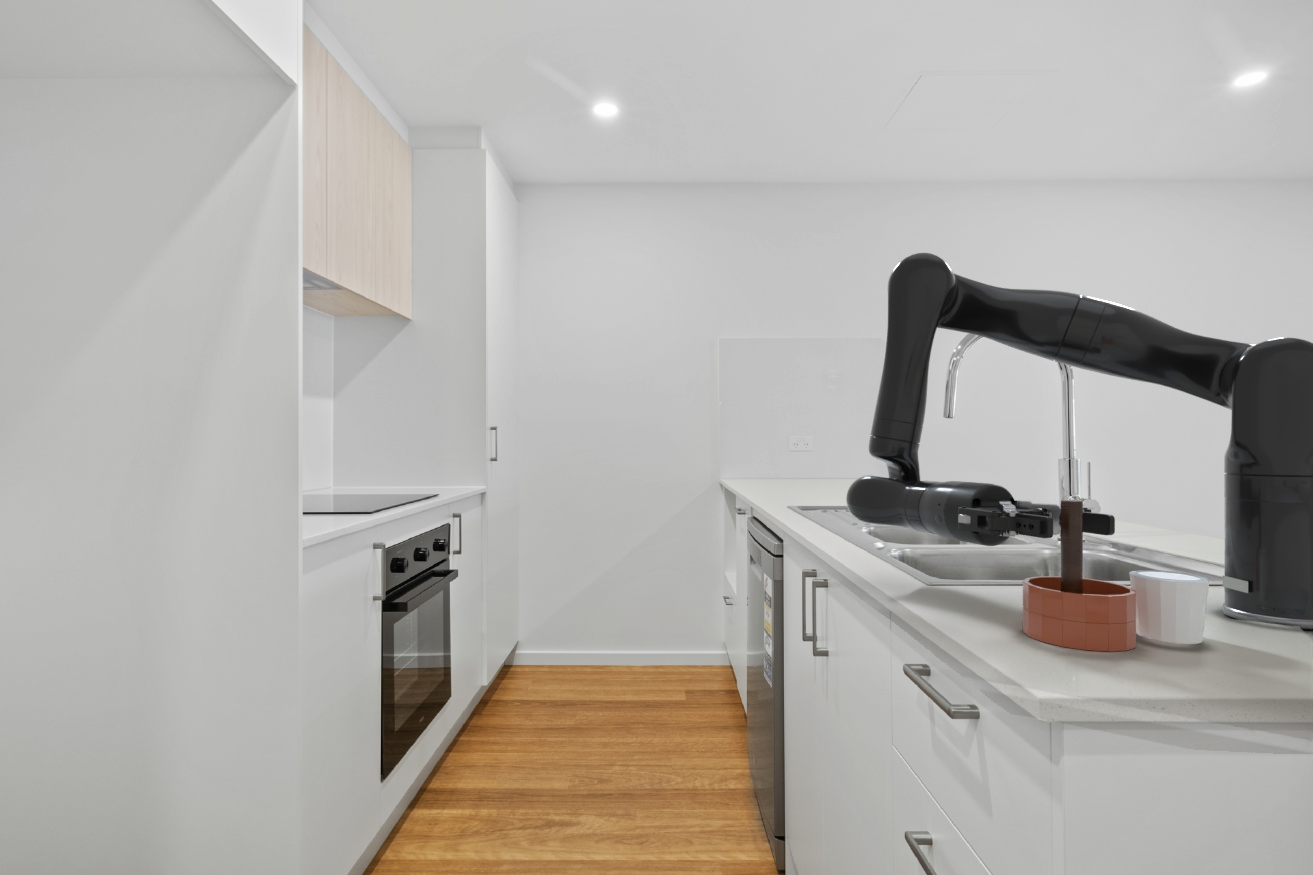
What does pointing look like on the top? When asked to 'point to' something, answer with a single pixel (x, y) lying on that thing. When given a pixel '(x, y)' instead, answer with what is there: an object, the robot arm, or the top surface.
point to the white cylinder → (1170, 605)
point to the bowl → (1080, 614)
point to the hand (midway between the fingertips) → (1082, 526)
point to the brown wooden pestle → (1072, 546)
